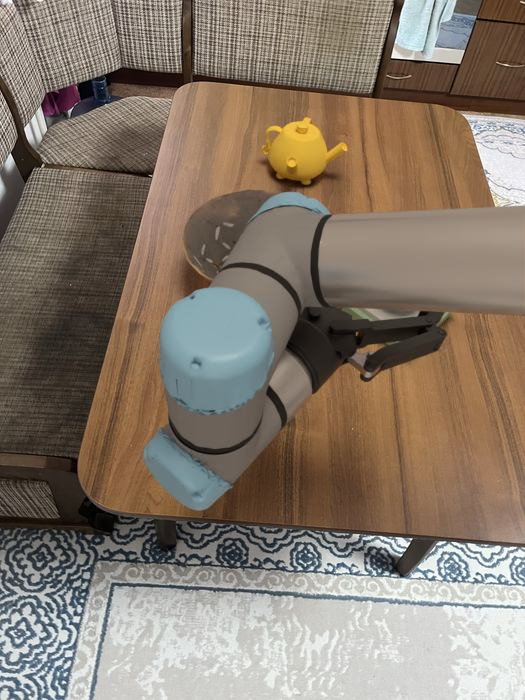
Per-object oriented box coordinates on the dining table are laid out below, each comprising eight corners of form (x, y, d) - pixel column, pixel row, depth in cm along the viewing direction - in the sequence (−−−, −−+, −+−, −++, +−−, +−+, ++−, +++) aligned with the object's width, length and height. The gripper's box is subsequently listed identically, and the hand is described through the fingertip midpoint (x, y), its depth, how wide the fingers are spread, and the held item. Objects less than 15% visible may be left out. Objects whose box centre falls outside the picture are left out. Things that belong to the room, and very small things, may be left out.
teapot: (285, 200, 110) (292, 152, 101) (253, 163, 117) (256, 115, 108) (342, 182, 115) (353, 135, 106) (308, 148, 122) (315, 101, 113)
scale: (448, 317, 94) (454, 306, 92) (406, 358, 88) (411, 347, 86) (384, 274, 99) (388, 263, 97) (341, 310, 93) (344, 299, 91)
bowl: (307, 227, 106) (315, 185, 98) (337, 323, 91) (348, 283, 83) (180, 234, 102) (176, 191, 94) (189, 335, 88) (187, 294, 80)
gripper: (191, 325, 58) (305, 230, 69) (384, 465, 50) (481, 333, 60) (188, 277, 52) (314, 181, 63) (407, 427, 44) (510, 288, 54)
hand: (396, 255), depth 62 cm, fingers open, 13 cm apart
